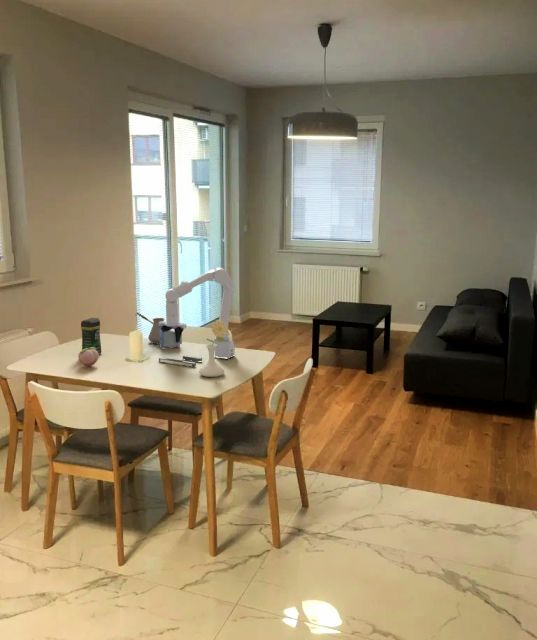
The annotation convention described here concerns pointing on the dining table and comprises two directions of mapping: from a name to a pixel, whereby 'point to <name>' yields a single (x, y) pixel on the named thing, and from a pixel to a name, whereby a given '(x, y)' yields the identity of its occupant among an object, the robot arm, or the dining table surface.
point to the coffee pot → (154, 329)
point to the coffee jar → (91, 334)
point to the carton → (171, 338)
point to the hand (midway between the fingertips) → (172, 341)
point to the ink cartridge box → (163, 338)
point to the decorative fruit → (88, 356)
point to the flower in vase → (212, 367)
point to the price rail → (182, 361)
